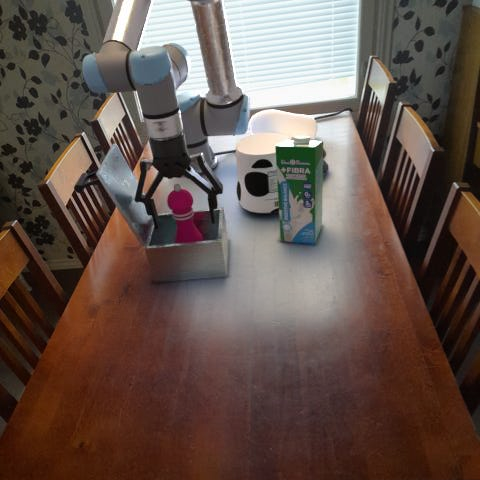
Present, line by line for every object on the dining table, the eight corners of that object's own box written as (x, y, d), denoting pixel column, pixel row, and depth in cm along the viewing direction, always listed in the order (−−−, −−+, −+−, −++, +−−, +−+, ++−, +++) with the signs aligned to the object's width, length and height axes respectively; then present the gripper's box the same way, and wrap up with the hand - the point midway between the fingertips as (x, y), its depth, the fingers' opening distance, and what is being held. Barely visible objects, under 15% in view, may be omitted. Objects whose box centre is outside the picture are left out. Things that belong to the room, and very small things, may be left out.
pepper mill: (178, 252, 117) (161, 179, 104) (206, 248, 117) (192, 174, 104) (178, 268, 112) (159, 193, 99) (207, 264, 112) (192, 188, 98)
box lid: (115, 142, 103) (79, 157, 105) (99, 172, 91) (59, 189, 94) (155, 211, 115) (122, 223, 117) (145, 246, 103) (108, 258, 105)
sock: (318, 108, 163) (320, 128, 155) (315, 134, 171) (317, 154, 163) (249, 108, 165) (247, 127, 156) (249, 133, 172) (247, 153, 164)
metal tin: (228, 240, 120) (223, 207, 114) (227, 276, 109) (221, 241, 102) (162, 246, 122) (154, 213, 115) (154, 282, 110) (144, 248, 103)
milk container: (254, 187, 142) (249, 128, 129) (306, 194, 134) (305, 133, 122) (228, 214, 131) (219, 153, 119) (283, 223, 124) (280, 159, 112)
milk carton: (322, 226, 121) (323, 130, 104) (314, 244, 115) (315, 146, 98) (289, 223, 124) (285, 130, 107) (280, 241, 117) (275, 145, 101)
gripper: (103, 147, 92) (131, 236, 106) (225, 134, 90) (237, 226, 105) (111, 133, 98) (137, 220, 112) (226, 120, 96) (237, 210, 110)
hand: (185, 223), depth 108 cm, fingers open, 13 cm apart
